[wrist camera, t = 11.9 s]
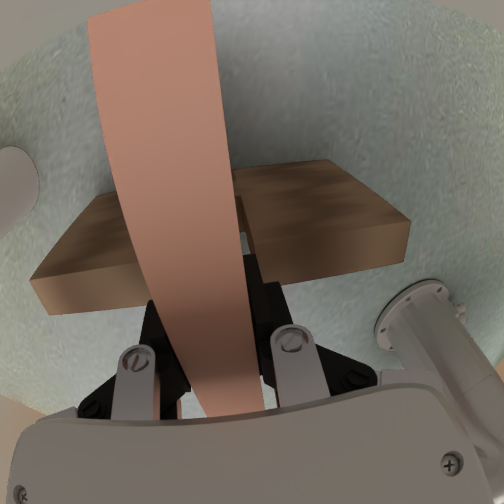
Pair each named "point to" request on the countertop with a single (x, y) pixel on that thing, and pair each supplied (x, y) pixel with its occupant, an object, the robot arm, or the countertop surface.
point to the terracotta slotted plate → (179, 188)
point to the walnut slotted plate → (249, 220)
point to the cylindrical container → (16, 187)
